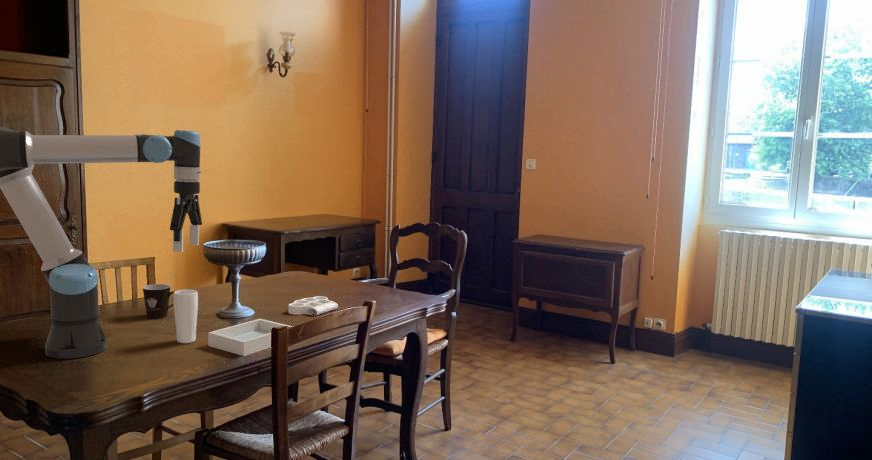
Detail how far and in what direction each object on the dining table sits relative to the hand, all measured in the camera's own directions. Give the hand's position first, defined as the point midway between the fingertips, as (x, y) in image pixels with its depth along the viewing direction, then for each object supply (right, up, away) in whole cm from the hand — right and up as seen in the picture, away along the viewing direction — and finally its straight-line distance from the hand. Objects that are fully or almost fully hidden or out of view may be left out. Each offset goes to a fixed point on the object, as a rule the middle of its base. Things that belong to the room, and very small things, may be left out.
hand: (186, 248), depth 210 cm
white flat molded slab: (+34, -23, +30) cm, 51 cm away
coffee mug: (-14, -23, +14) cm, 31 cm away
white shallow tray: (+24, -28, -10) cm, 38 cm away
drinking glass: (+4, -27, -11) cm, 30 cm away
